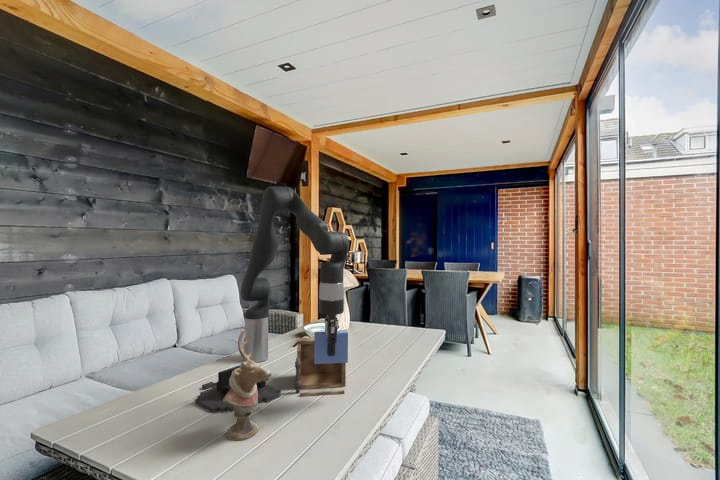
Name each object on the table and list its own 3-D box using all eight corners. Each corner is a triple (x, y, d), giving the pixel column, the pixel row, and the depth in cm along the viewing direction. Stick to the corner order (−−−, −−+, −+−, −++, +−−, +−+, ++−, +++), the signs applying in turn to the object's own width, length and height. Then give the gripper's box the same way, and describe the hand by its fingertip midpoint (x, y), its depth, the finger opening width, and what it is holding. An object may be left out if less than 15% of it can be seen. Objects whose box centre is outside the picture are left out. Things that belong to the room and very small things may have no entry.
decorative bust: (279, 436, 85) (265, 332, 87) (224, 450, 82) (210, 342, 84) (279, 418, 96) (267, 326, 97) (230, 430, 93) (218, 335, 94)
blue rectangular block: (314, 364, 105) (314, 334, 105) (314, 361, 107) (314, 331, 107) (347, 362, 106) (348, 332, 106) (346, 359, 109) (347, 330, 109)
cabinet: (294, 396, 110) (294, 353, 110) (295, 375, 127) (296, 338, 127) (347, 393, 112) (347, 351, 112) (341, 373, 130) (341, 336, 130)
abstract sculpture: (181, 367, 110) (237, 351, 126) (181, 397, 110) (237, 377, 126) (226, 388, 95) (284, 367, 111) (226, 422, 95) (284, 396, 111)
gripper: (318, 293, 113) (317, 347, 113) (320, 301, 99) (319, 362, 99) (341, 293, 114) (340, 346, 114) (346, 301, 100) (345, 361, 101)
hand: (330, 353), depth 107 cm, fingers closed on blue rectangular block, 2 cm apart
